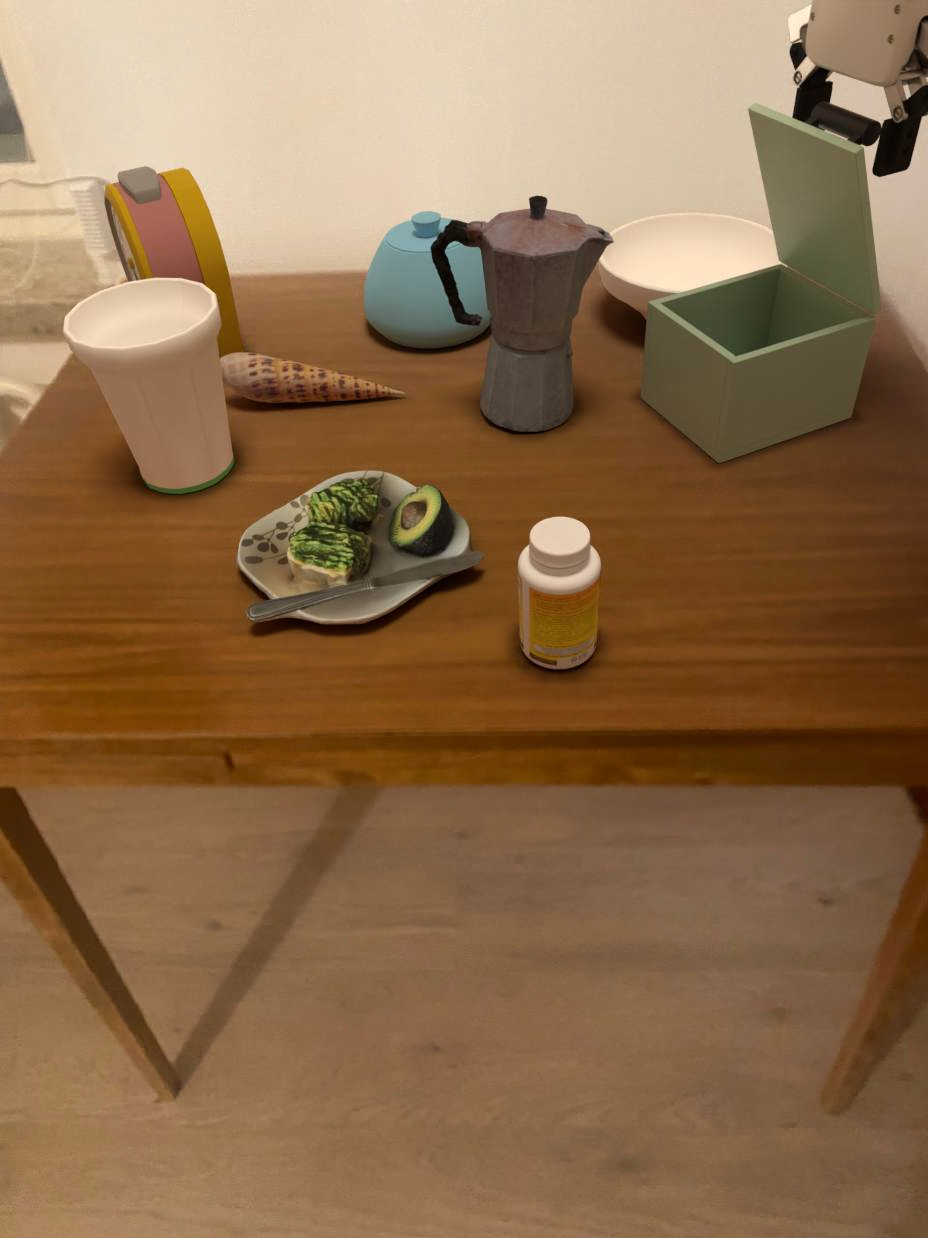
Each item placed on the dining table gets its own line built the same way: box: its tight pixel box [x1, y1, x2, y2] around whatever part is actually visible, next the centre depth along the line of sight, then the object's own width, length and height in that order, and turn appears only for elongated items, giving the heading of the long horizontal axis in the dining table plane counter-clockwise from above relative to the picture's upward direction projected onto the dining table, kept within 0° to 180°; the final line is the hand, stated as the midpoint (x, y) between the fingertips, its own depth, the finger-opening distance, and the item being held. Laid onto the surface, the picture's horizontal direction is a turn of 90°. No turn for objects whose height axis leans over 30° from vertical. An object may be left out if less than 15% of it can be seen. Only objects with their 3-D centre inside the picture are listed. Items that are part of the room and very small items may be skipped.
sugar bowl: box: [363, 210, 491, 350], centre depth 103 cm, size 15×15×12 cm
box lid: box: [747, 101, 883, 316], centre depth 80 cm, size 15×13×5 cm
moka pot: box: [430, 195, 614, 433], centre depth 86 cm, size 10×15×20 cm, turn 89°
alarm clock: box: [103, 165, 245, 358], centre depth 99 cm, size 15×8×18 cm, turn 27°
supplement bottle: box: [517, 516, 602, 670], centre depth 66 cm, size 6×6×10 cm
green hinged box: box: [639, 264, 877, 464], centre depth 87 cm, size 15×13×10 cm
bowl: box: [597, 212, 790, 321], centre depth 102 cm, size 20×20×7 cm
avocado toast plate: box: [235, 469, 486, 625], centre depth 76 cm, size 19×18×5 cm
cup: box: [62, 278, 235, 495], centre depth 83 cm, size 12×12×15 cm
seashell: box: [220, 351, 407, 404], centre depth 94 cm, size 4×18×5 cm, turn 85°
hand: (846, 154), depth 77 cm, fingers open, 9 cm apart
